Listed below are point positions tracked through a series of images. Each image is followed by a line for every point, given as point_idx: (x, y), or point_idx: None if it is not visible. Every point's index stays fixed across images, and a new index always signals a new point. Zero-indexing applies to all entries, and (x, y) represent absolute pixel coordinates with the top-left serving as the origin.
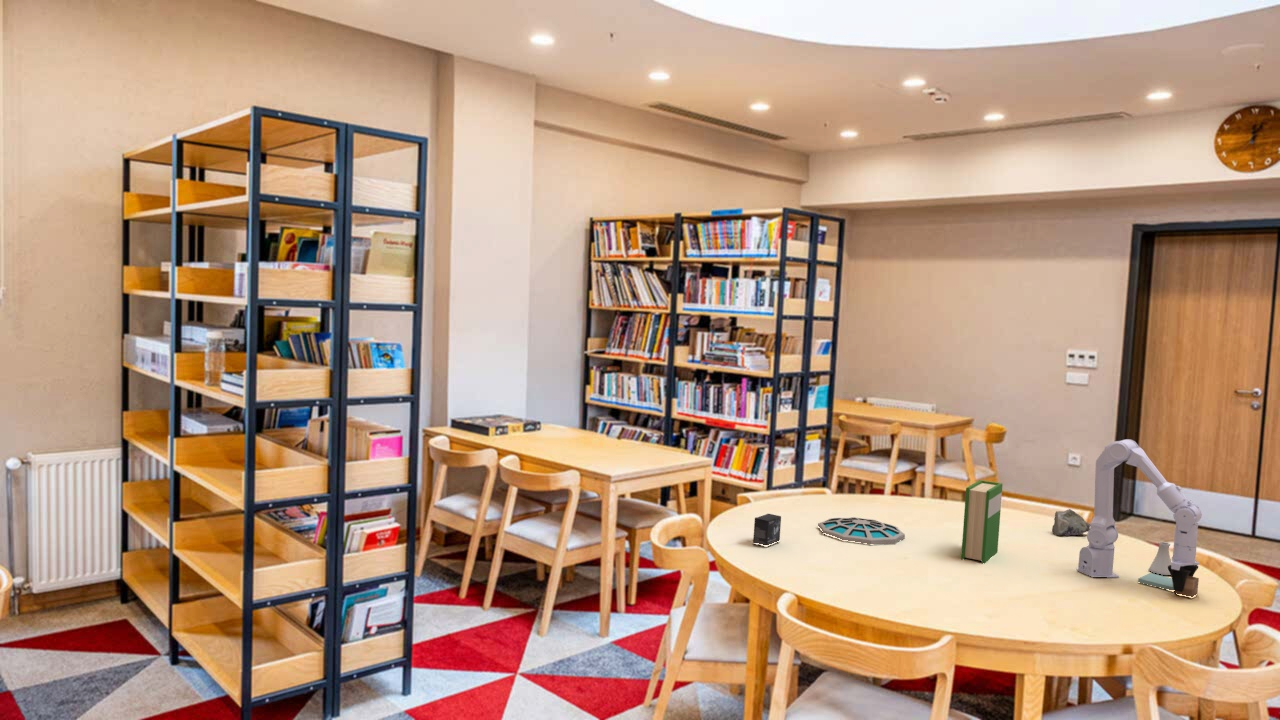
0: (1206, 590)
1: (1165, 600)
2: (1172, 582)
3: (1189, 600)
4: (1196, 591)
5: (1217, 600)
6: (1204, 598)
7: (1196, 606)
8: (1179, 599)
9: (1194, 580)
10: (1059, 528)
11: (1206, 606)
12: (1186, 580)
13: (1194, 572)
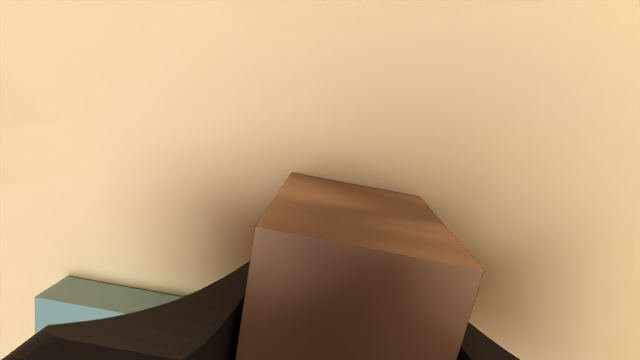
0: (29, 132)
1: (614, 345)
2: None
3: (472, 207)
4: (316, 189)
5: (276, 17)
6: (304, 116)
7: (627, 141)
8: (502, 270)
9: (441, 261)
10: None
11: (564, 72)
12: (451, 337)
13: (158, 320)
